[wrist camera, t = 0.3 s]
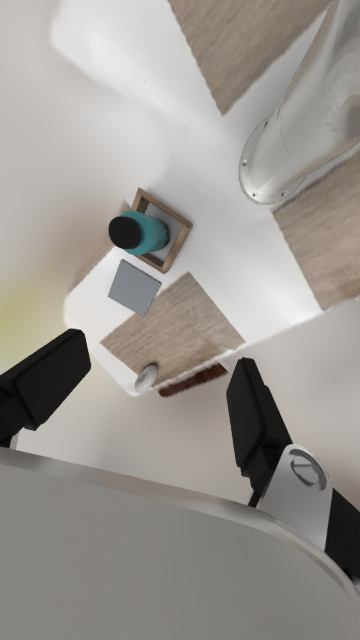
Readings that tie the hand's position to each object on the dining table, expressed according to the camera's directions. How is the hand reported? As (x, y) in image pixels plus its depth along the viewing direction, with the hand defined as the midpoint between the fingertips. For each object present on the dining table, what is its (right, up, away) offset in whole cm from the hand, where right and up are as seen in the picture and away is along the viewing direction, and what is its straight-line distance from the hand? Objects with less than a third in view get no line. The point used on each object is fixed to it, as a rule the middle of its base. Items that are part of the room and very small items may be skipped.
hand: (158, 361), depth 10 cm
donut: (-10, -15, +50) cm, 53 cm away
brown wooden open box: (-4, +23, +29) cm, 37 cm away
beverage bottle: (-4, +23, +29) cm, 37 cm away
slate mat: (-12, +11, +36) cm, 40 cm away
